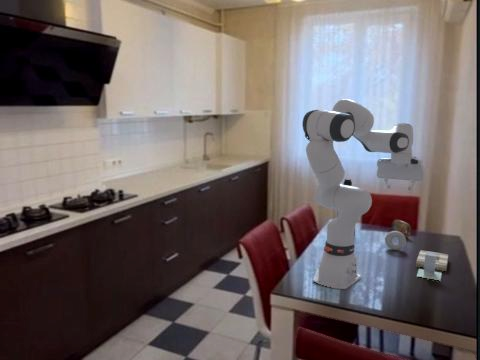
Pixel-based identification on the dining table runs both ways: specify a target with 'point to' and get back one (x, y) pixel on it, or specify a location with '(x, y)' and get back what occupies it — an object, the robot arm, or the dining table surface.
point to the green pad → (436, 276)
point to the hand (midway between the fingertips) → (399, 189)
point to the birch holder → (440, 260)
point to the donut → (395, 235)
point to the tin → (401, 227)
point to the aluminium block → (430, 264)
